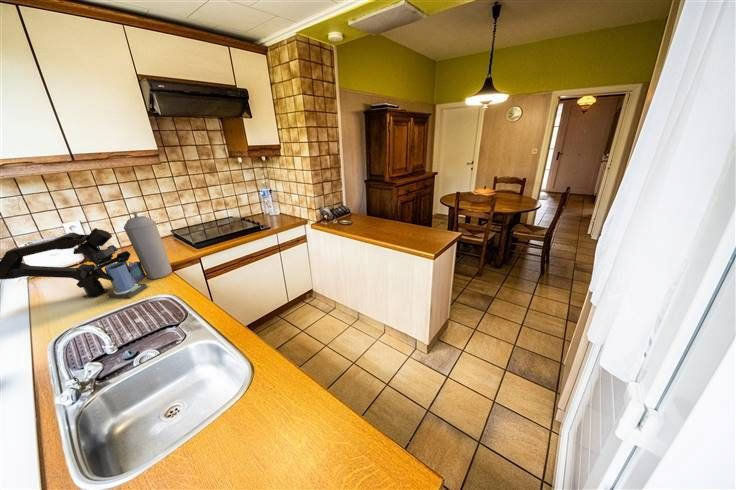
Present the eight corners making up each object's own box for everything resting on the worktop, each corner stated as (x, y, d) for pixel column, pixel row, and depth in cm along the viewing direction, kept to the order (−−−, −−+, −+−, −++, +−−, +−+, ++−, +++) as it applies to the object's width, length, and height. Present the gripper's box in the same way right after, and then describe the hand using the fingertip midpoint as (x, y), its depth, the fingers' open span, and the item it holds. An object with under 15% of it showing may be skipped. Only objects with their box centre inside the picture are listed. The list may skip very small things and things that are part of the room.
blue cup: (111, 292, 124) (100, 269, 119) (125, 283, 130) (115, 262, 126) (125, 292, 123) (114, 269, 118) (138, 284, 130) (129, 262, 125)
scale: (109, 298, 124) (106, 293, 123) (127, 287, 133) (125, 282, 132) (130, 298, 123) (127, 293, 122) (147, 287, 132) (145, 282, 130)
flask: (133, 284, 135) (124, 265, 131) (128, 284, 135) (119, 266, 131) (147, 275, 143) (139, 257, 139) (142, 275, 144) (134, 258, 139)
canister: (180, 269, 148) (157, 208, 134) (159, 281, 136) (132, 216, 123) (161, 268, 150) (137, 208, 137) (139, 280, 139) (110, 216, 125)
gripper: (71, 251, 110) (103, 276, 112) (119, 235, 127) (146, 257, 129) (67, 266, 115) (97, 290, 117) (114, 249, 132) (139, 270, 133)
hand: (121, 276), depth 124 cm, fingers closed on blue cup, 7 cm apart
